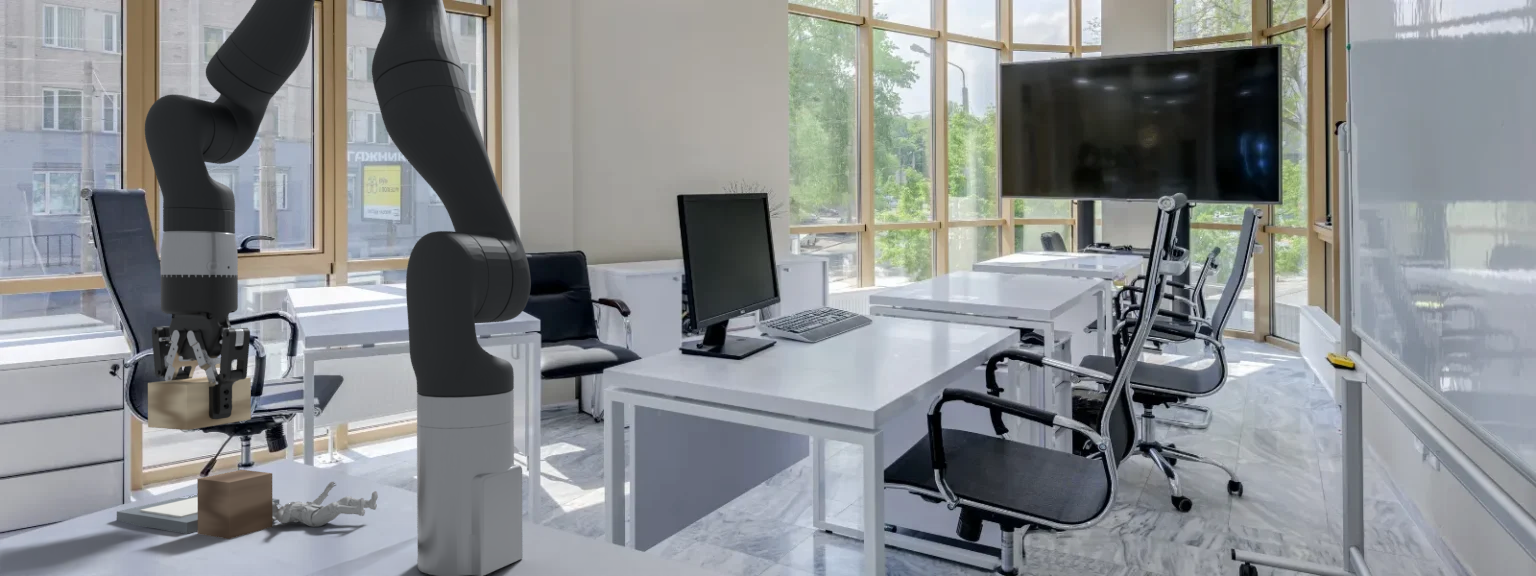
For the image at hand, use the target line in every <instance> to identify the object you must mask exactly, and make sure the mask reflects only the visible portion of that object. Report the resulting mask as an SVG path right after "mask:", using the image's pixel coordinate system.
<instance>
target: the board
mask: <svg viewBox="0 0 1536 576" xmlns="http://www.w3.org/2000/svg"><path fill="white" fill-rule="evenodd" d="M196 494H197V495H194V494H193V495H194V496H192V497H191V496H189V495H188V496H189V497H188V498H180V497H177V498H170V499H167V500H163V501H159V502H158V501H157V502H154V503H150V504H149V503H148V504H144V505H139V506H136V507H130V508H127V509H121V510H119V511H118V510H117V511H116V521H117V520H119V521H118V522H122V523H126V522H127V524H130V523H131V525H134V526H138V527H143V528H151V529H157V530H162V531H168V532H174V533H180V534H186V535H187V534H191V533H195V532H198V493H196ZM272 502H274V503H275V504H276V506H278V505H280V499H279V498H272Z"/></svg>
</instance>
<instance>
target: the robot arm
mask: <svg viewBox="0 0 1536 576" xmlns="http://www.w3.org/2000/svg"><path fill="white" fill-rule="evenodd" d="M380 1H381V4H382V7H383V10H384V15H385V26H384V29H383V32H382V34H381V36H380V39H379V41H378V43H377V46H376V49H375V52H374V55H373V59H372V63H371V76H372V77H371V78H372V83H373V87H374V91H375V95H376V98H377V103H378V107H379V111H380V113H381V117H382V121H383V125H384V127H385V130H386V131H387V134H388V136H389V137H390V139H391V141H392V143H394V145H395V146H396V147H397V149H398V151H399V152H400V153H401V154H402V155H403V156H404V158H405V159H406V161H407V162H408V163H409V164H410V165H411V166H412V167H413V168H414V170H416V172H417V173H418V174H419V175H420V177H421V178H423V180H424V181H425V182H426V183H427V184H428V185H429V186H430V187H431V189H432V190H433V191H434V193H435V194H436V196H437V197H438V198H439V199H440V201H441V202H442V204H443V206H444V208H445V209H446V211H447V214H448V216H449V218H450V220H451V223H452V226H453V229H454V231H450V230H438V231H431V232H428V233H426V234H423V236H421V237H420V238H419V239H418V240H417V242H415V244H414V247H413V248H412V250H411V252H410V255H409V258H408V262H407V267H406V278H405V279H406V280H405V290H406V291H405V292H406V293H405V295H406V310H407V311H406V312H407V325H408V344H409V345H408V346H409V357H410V362H411V366H412V370H413V371H414V375H415V379H416V493H417V494H416V495H417V496H416V497H417V498H416V502H417V503H416V504H417V505H416V508H417V509H416V510H417V511H416V512H417V513H416V515H417V516H416V521H417V522H416V523H417V524H416V525H417V526H416V528H417V569H418V570H419V572H421V573H424V574H428V575H430V576H486V575H489V574H491V573H493V572H495V571H498V570H499V569H502V568H504V567H507V566H509V565H510V564H513V563H515V562H517V561H520V560H522V559H523V552H524V551H523V550H524V549H523V546H524V545H523V543H524V541H523V535H524V534H523V467H522V466H521V465H519V464H515V433H514V431H515V429H514V427H515V425H514V424H515V423H514V422H515V420H514V419H515V416H514V415H515V414H514V413H515V409H514V408H515V403H514V402H515V400H514V398H515V396H514V395H515V394H514V392H515V389H514V388H515V384H514V382H515V379H514V378H515V376H514V375H515V374H514V368H513V365H512V364H511V362H510V361H508V360H507V359H504V358H501V357H497V356H496V355H493V354H491V353H489V352H487V351H486V349H484V347H482V346H481V344H480V343H479V342H478V338H477V332H476V324H488V323H499V322H500V323H501V322H506V321H511V320H514V319H515V318H518V316H520V315H521V314H522V312H523V311H524V309H525V308H526V306H527V305H528V302H529V299H530V293H531V288H532V287H531V285H532V284H531V282H532V281H531V279H532V278H531V272H530V271H531V270H530V265H529V261H528V257H527V254H526V251H525V248H524V244H523V242H522V240H521V237H520V235H519V233H518V230H517V228H516V225H515V223H514V220H513V219H512V216H511V213H510V212H509V208H508V206H507V204H506V202H505V199H504V197H503V194H502V192H501V189H500V186H499V184H498V182H497V179H496V176H495V173H494V170H493V167H492V163H491V160H490V158H489V155H488V151H487V149H486V145H485V143H484V140H483V139H484V138H483V136H482V133H481V130H480V126H479V122H478V119H477V116H476V111H475V108H474V107H475V106H474V103H473V100H472V95H471V92H470V88H469V85H468V82H467V79H466V75H465V72H464V68H463V66H462V64H461V60H460V57H459V55H458V51H457V47H456V44H455V41H454V36H453V33H452V32H453V31H452V29H451V25H450V22H449V18H448V15H447V12H446V9H445V5H444V0H380ZM315 2H316V0H255V1H254V2H253V4H252V6H251V7H250V9H249V10H248V12H247V13H246V15H245V16H244V17H243V19H242V20H241V21H240V22H239V24H238V25H237V26H236V27H235V28H234V30H233V31H232V32H231V33H230V35H229V36H228V37H227V38H226V39H225V41H224V42H223V43H222V44H221V46H220V47H219V48H218V49H217V51H216V52H215V53H214V54H213V55H212V57H211V58H210V60H209V61H208V62H207V66H206V67H205V77H206V79H207V82H208V83H209V85H211V87H212V88H213V89H214V90H215V91H216V92H218V93H219V94H220V95H219V96H218V98H217V99H216V100H215V101H208V100H203V99H200V98H196V97H192V96H187V95H182V94H166V95H164V96H162V97H160V98H158V99H157V100H156V101H154V103H153V104H152V105H151V106H150V108H149V110H148V112H147V114H146V117H145V122H144V137H145V143H146V147H147V150H148V154H149V157H150V160H151V164H152V166H153V170H154V172H155V176H156V179H157V184H158V186H159V188H160V192H161V193H162V201H163V202H162V203H163V204H162V205H163V206H162V216H163V217H162V231H163V232H162V242H161V247H160V310H161V312H162V313H164V314H166V315H167V314H168V315H171V321H170V324H169V325H166V326H165V325H161V326H153V327H152V329H151V340H152V341H151V342H152V343H151V344H152V354H153V362H154V363H153V365H154V374H155V376H156V377H157V378H163V379H164V380H165V381H171V380H180V379H189V378H194V377H193V376H194V374H195V373H194V372H195V370H196V367H199V368H200V369H201V370H204V371H205V374H206V377H207V378H208V381H209V384H210V386H213V387H209V417H210V418H211V419H222V418H228V417H230V416H231V411H232V385H233V384H235V382H236V381H238V380H241V379H245V378H246V377H248V376H247V375H248V365H249V363H248V362H249V351H250V337H251V331H250V328H248V327H238V328H235V327H232V325H231V323H230V319H229V315H230V314H231V313H235V312H237V310H238V308H239V299H238V298H239V294H238V293H239V282H238V280H239V279H238V278H239V277H238V276H239V275H238V274H239V272H238V271H239V269H238V265H239V264H238V262H239V260H238V258H239V257H238V255H239V254H238V247H237V241H236V217H235V216H236V212H235V211H236V202H235V194H234V191H233V190H232V189H231V188H230V187H229V186H227V185H225V184H224V183H221V182H219V181H217V180H216V179H214V178H212V177H211V176H210V173H209V171H208V169H207V166H206V163H210V164H215V165H218V164H219V165H221V164H222V165H223V164H229V163H232V162H233V161H236V160H238V159H239V158H240V157H242V156H243V155H244V154H245V153H246V152H247V151H248V150H250V148H251V146H252V145H253V143H254V141H255V138H256V136H257V133H258V131H259V128H260V127H261V123H262V122H263V119H264V117H265V114H266V111H267V108H268V106H269V103H270V101H271V99H272V98H273V97H274V96H275V95H276V94H277V92H278V91H280V89H281V88H282V86H283V85H284V84H285V83H286V82H287V80H288V79H290V77H291V76H292V74H293V73H294V72H295V71H296V70H297V68H298V67H299V66H300V63H302V60H303V59H304V57H305V55H306V52H307V50H308V47H309V43H310V37H311V32H312V24H313V23H312V22H313V14H314V13H313V12H314V8H315V7H314V6H315ZM165 357H166V359H165ZM165 361H166V363H167V364H168V366H166V363H165ZM235 361H236V368H235V369H234V367H233V363H234V362H235ZM218 368H219V373H218V371H217V370H218Z"/></svg>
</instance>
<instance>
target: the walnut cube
mask: <svg viewBox="0 0 1536 576" xmlns="http://www.w3.org/2000/svg"><path fill="white" fill-rule="evenodd" d="M197 494H198V531H197V535H201V536H208V537H215V538H222V539H227V540H232V539H234V538H239V537H242V536H244V535H245V536H246V535H249V534H253V533H255V532H259V531H263V530H266V529H267V530H268V529H271V528H273V526H274V523H273V522H274V521H273V511H272V499H273V472H266V471H265V472H264V471H257V470H256V471H255V470H249V469H248V470H247V469H246V470H245V469H238V470H234V471H229V472H224V473H219V474H212V475H209V476H205V477H199V478H197Z"/></svg>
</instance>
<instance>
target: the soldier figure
mask: <svg viewBox="0 0 1536 576" xmlns="http://www.w3.org/2000/svg"><path fill="white" fill-rule="evenodd" d="M335 486H337V484H336V482H335V481H331V482H329V483H328V484H327V485H326V487H325V488H324V490H323V491H322V492H321V494H320V495H319V496H318V497H317V498H315V499H314V500H313V501H306V502H301V501H291V502H289V503H288V502H287V503H286V504H284V505H282V504H280V503H279V505H280V506H278V505H276V504H275V503H274V502H272V511H273V522H274V521H275V522H276V521H277V522H279V523H281V524H287V523H299V522H301V523H303V524H305V525H306V526H309V527H314V528H316V527H322V526H325V525H326V524H328V523H330V522H331V521H334V520H335V519H336V518H337V517H338V516H340V515H343V514H344V515H358V516H360V517H361V516H362V517H364V516H365V514H366V511H365V509H370V510H374V511H376V509H377V500H378V498H379V494H378V492H377V491H373V492H372V493H371V498H370V499H368V500H367V499H366V500H365V498H363V497H361V498H354V497H352V496H349V495H348V496H345V497H341V498H340V499H338V500H337V501H332V502H330V503H328V504H327V505H325V506H323V505H321V504H323V502H324V500H326V499H327V497H328V496H329V493H330V491H331V490H333V488H334V487H335Z"/></svg>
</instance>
